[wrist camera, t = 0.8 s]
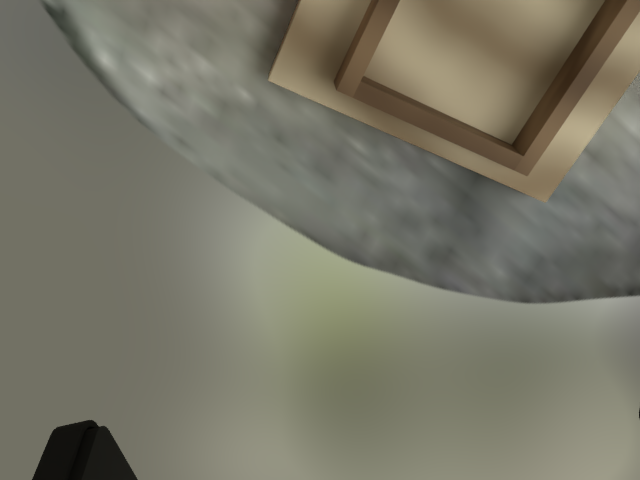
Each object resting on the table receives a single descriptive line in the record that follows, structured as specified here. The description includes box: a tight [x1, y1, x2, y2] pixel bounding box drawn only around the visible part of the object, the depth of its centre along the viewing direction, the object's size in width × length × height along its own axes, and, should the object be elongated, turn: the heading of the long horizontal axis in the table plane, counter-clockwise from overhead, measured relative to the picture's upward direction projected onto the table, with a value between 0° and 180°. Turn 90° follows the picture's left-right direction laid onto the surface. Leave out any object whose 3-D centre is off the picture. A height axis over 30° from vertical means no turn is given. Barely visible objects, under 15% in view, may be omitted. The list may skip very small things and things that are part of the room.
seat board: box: [268, 0, 640, 203], centre depth 31 cm, size 16×20×4 cm
